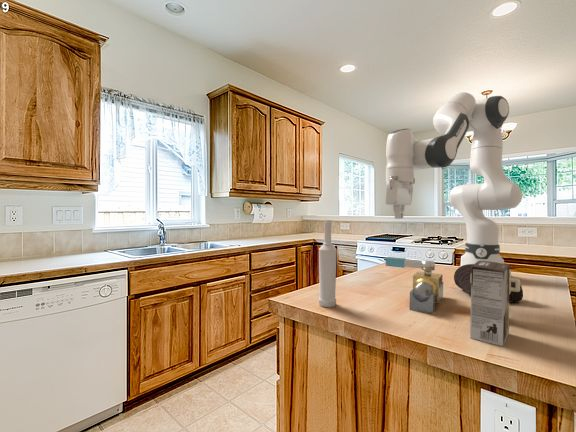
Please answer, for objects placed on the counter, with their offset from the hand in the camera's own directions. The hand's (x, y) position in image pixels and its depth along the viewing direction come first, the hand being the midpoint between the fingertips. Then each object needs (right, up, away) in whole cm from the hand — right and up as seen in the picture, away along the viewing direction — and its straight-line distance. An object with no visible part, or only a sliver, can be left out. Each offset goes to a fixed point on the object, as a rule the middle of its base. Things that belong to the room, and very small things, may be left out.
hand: (399, 218), depth 103 cm
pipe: (+27, -26, -4) cm, 37 cm away
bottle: (-26, -26, -13) cm, 39 cm away
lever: (0, -15, -8) cm, 17 cm away
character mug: (+16, -26, -24) cm, 39 cm away
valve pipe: (+5, -25, -11) cm, 28 cm away
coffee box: (+8, -26, -35) cm, 44 cm away
